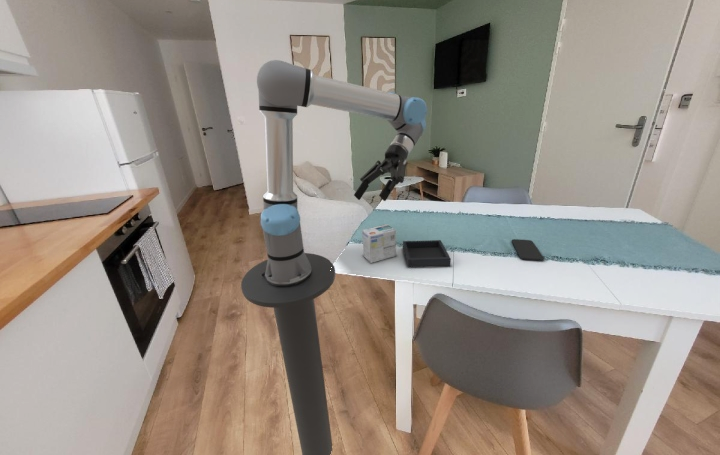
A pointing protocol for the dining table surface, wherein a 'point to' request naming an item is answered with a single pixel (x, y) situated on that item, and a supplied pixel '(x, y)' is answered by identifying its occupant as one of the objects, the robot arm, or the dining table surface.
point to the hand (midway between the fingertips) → (368, 198)
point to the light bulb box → (379, 243)
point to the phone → (527, 250)
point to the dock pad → (426, 254)
